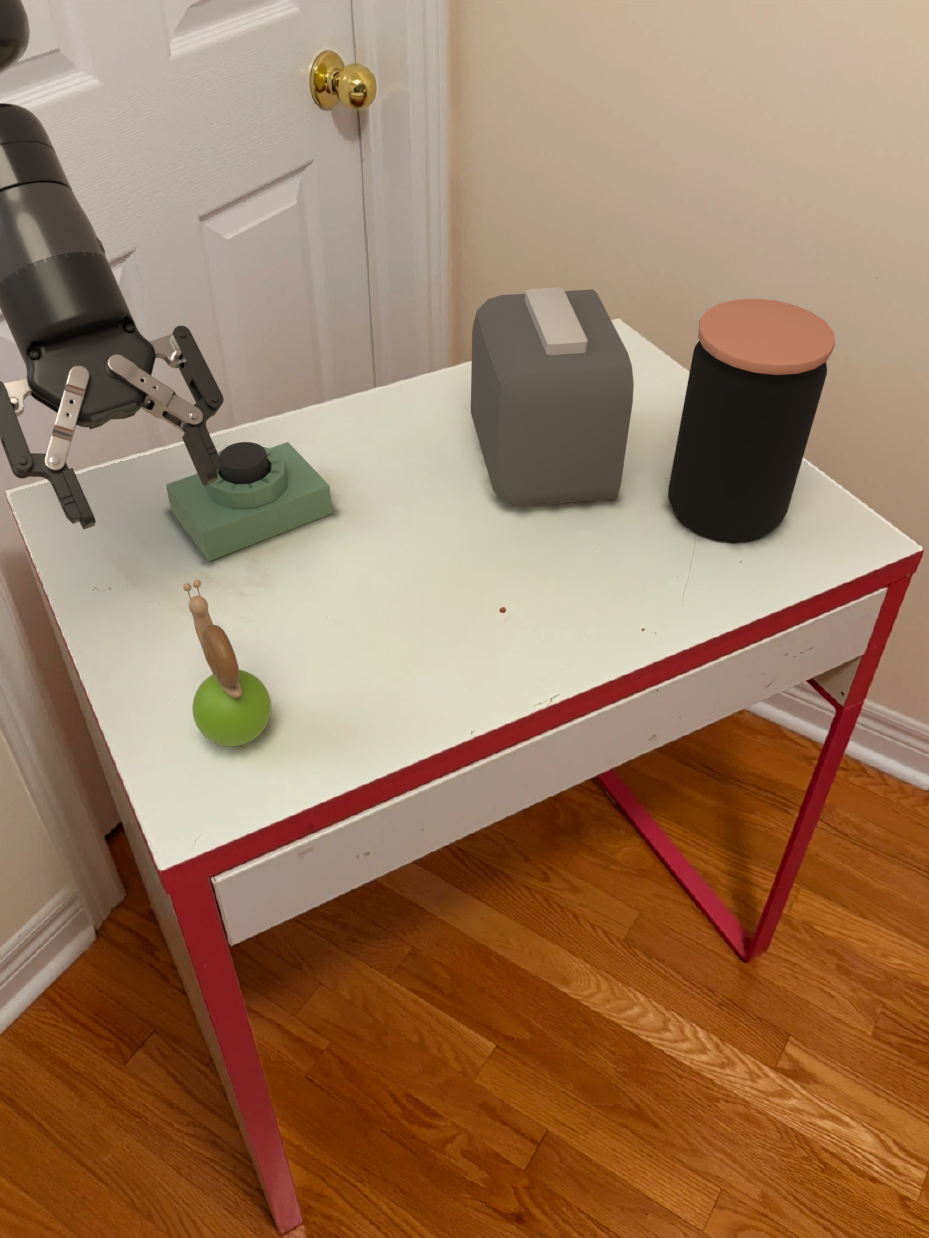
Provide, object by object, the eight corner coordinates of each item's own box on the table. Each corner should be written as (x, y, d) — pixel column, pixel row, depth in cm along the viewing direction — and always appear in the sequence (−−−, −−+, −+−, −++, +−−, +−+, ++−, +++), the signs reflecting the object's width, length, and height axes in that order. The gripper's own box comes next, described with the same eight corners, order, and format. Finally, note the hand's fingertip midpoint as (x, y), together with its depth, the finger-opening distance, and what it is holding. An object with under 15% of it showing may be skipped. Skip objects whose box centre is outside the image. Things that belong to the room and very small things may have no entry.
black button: (234, 491, 89) (231, 474, 88) (214, 467, 91) (211, 451, 90) (276, 475, 91) (274, 459, 89) (256, 453, 93) (253, 436, 92)
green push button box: (208, 562, 89) (199, 516, 86) (171, 513, 94) (161, 467, 91) (332, 513, 94) (328, 468, 91) (291, 469, 99) (285, 424, 95)
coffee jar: (809, 520, 94) (865, 339, 82) (723, 563, 90) (768, 379, 77) (725, 462, 101) (765, 286, 88) (641, 499, 96) (670, 320, 84)
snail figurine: (251, 685, 79) (227, 566, 71) (287, 741, 75) (267, 622, 67) (183, 713, 77) (150, 594, 69) (216, 773, 73) (187, 654, 65)
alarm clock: (616, 511, 95) (639, 358, 84) (493, 522, 94) (500, 368, 83) (575, 412, 106) (590, 266, 96) (465, 421, 105) (467, 274, 94)
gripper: (146, 271, 75) (238, 481, 76) (-59, 324, 69) (43, 551, 70) (161, 225, 68) (261, 456, 69) (-66, 279, 62) (48, 531, 64)
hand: (151, 503), depth 70 cm, fingers open, 8 cm apart
